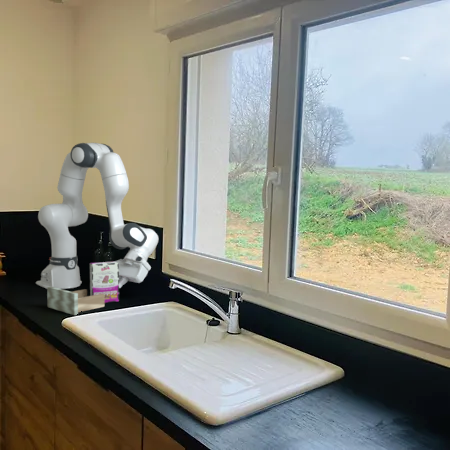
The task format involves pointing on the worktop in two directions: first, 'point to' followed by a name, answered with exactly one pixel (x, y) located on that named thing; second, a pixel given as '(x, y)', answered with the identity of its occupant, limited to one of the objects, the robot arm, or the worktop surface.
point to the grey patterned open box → (73, 300)
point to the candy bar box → (105, 280)
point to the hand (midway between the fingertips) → (116, 286)
